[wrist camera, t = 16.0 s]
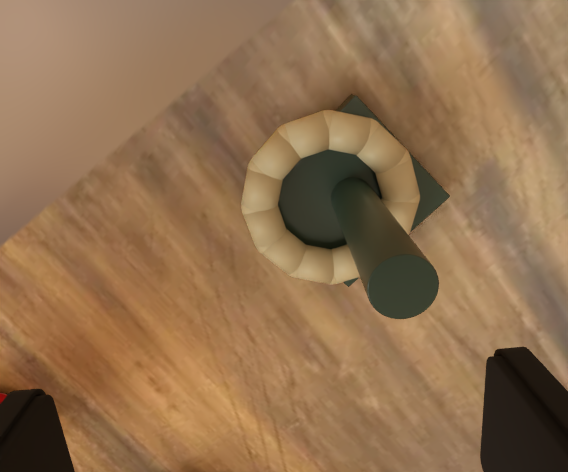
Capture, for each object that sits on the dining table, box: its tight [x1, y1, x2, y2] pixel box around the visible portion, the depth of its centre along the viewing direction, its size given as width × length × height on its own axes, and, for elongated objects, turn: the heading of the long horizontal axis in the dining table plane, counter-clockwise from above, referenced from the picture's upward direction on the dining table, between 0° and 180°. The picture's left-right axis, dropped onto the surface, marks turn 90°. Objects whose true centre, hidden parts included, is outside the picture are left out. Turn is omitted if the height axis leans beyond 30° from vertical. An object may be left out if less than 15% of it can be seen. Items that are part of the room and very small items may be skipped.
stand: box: [278, 94, 450, 319], centre depth 22 cm, size 8×8×14 cm
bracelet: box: [241, 110, 420, 284], centre depth 26 cm, size 10×10×2 cm
